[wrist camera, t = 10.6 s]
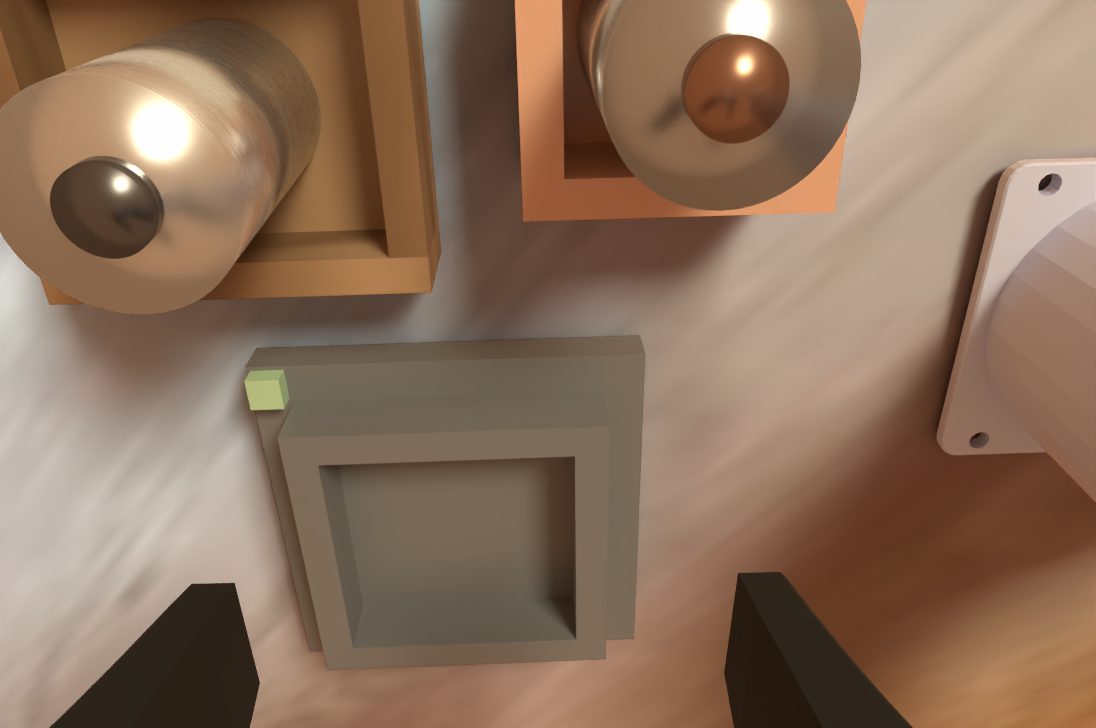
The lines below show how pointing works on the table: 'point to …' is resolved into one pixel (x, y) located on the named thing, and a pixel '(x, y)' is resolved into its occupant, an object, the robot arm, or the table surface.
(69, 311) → the table surface
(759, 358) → the table surface
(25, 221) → the cell
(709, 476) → the table surface
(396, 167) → the brown square tray
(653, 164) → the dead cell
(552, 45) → the orange square box
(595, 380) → the cradle
